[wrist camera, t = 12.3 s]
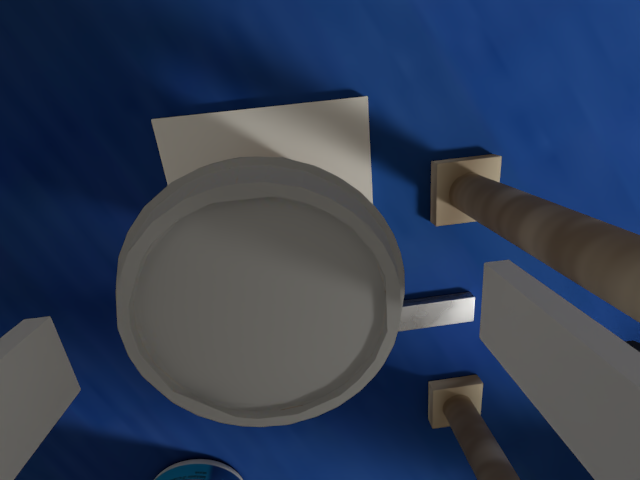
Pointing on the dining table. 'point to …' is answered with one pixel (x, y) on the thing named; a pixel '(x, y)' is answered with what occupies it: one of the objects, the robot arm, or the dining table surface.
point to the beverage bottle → (199, 471)
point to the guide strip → (437, 311)
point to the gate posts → (544, 244)
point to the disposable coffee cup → (259, 291)
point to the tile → (273, 138)
